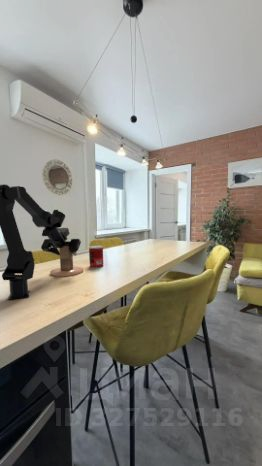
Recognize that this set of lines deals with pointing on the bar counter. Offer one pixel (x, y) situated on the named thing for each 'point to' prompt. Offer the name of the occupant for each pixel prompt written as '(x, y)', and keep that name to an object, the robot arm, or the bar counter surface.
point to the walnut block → (66, 259)
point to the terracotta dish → (66, 272)
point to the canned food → (96, 256)
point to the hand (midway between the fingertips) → (67, 254)
